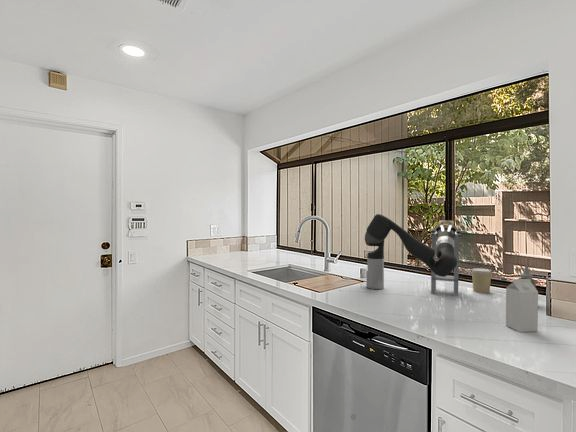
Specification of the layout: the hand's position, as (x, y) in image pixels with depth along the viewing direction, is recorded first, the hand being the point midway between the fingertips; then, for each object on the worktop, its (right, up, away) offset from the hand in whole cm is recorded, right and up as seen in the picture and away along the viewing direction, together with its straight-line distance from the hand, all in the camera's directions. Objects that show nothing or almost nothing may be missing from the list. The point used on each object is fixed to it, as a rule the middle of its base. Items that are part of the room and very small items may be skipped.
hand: (446, 222), depth 166 cm
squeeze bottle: (+33, -39, -11) cm, 52 cm away
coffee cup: (+25, -38, +12) cm, 47 cm away
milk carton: (+8, -40, -42) cm, 58 cm away
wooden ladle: (+2, -2, +3) cm, 4 cm away
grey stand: (+4, -38, +11) cm, 40 cm away
